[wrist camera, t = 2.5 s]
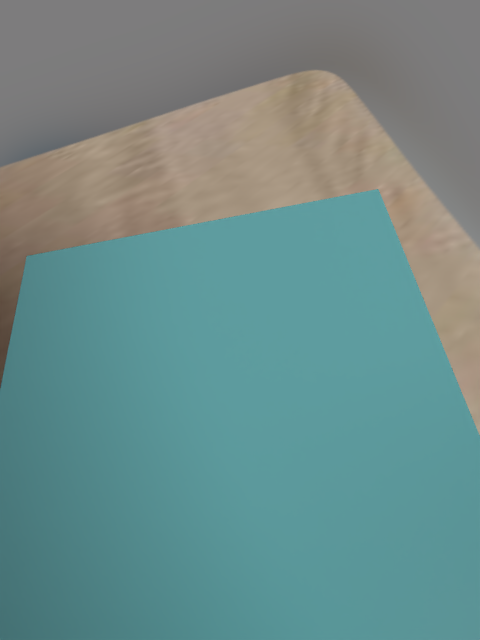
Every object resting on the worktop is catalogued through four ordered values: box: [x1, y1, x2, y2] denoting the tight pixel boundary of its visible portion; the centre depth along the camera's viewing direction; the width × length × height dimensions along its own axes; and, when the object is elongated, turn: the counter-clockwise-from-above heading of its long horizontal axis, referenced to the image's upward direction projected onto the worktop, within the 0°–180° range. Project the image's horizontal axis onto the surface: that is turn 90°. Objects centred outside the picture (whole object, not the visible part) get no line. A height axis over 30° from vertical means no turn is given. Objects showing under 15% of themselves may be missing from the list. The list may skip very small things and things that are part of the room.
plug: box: [0, 189, 480, 640], centre depth 9 cm, size 4×4×13 cm
